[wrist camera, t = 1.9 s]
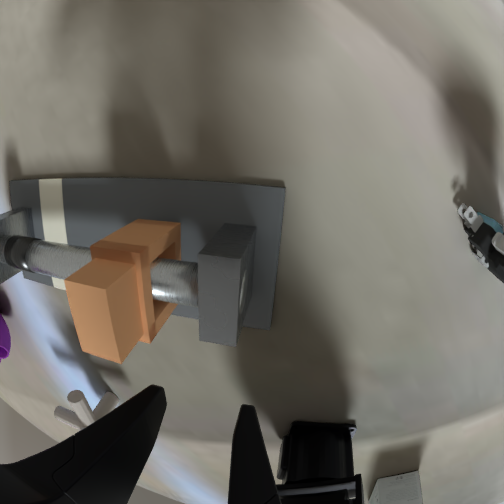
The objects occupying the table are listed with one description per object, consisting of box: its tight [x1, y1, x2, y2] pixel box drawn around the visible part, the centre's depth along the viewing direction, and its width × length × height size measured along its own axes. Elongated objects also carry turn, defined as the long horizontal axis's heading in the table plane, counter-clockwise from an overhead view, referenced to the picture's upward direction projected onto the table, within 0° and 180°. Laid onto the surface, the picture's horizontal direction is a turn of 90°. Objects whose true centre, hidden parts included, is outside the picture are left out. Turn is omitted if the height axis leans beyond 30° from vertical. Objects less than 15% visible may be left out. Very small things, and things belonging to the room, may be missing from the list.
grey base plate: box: [9, 178, 285, 330], centre depth 21 cm, size 25×10×1 cm, turn 86°
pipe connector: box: [54, 390, 119, 431], centre depth 24 cm, size 10×10×10 cm
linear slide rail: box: [0, 207, 257, 347], centre depth 18 cm, size 22×5×5 cm, turn 86°
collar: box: [64, 219, 181, 364], centre depth 15 cm, size 3×5×8 cm, turn 176°
